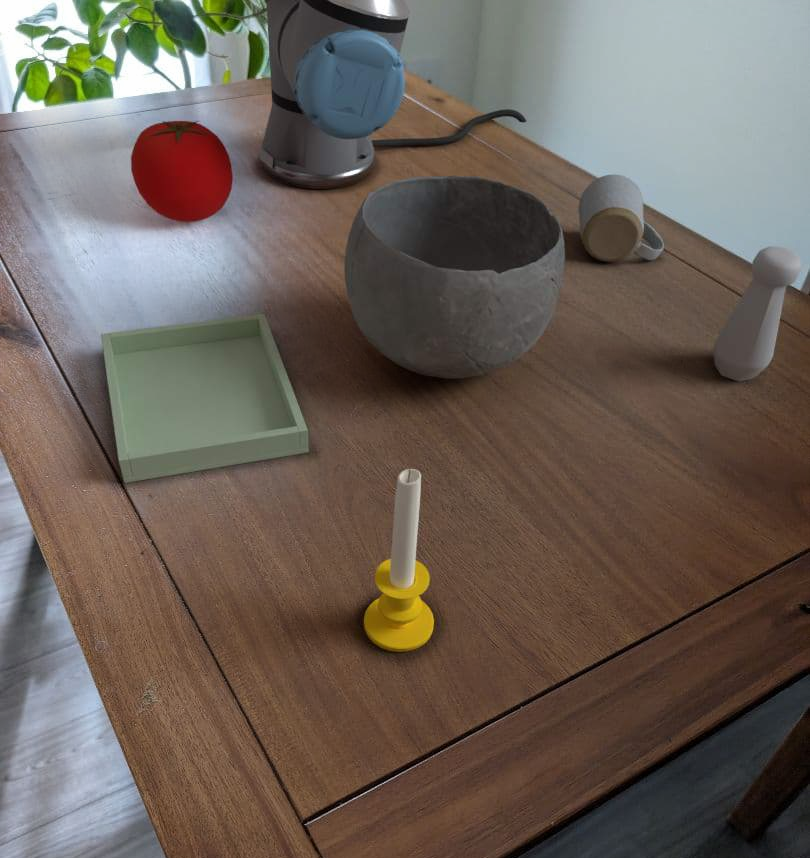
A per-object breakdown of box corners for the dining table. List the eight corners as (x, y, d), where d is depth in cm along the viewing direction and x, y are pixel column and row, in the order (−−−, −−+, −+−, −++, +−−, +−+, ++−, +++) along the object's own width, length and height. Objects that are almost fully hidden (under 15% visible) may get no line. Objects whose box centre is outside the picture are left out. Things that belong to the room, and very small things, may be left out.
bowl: (395, 437, 79) (404, 291, 68) (314, 321, 91) (311, 181, 80) (582, 388, 85) (618, 248, 74) (483, 286, 98) (501, 153, 87)
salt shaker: (765, 361, 90) (815, 246, 81) (762, 392, 87) (814, 275, 77) (709, 348, 91) (751, 233, 82) (704, 378, 88) (748, 261, 78)
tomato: (249, 226, 104) (241, 138, 97) (153, 242, 101) (138, 152, 93) (218, 184, 112) (209, 99, 104) (128, 198, 108) (112, 111, 100)
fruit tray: (266, 335, 89) (264, 313, 87) (308, 452, 77) (307, 430, 75) (106, 356, 85) (100, 333, 83) (124, 483, 73) (118, 460, 71)
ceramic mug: (575, 262, 102) (589, 200, 97) (572, 230, 108) (586, 169, 102) (663, 273, 102) (683, 211, 97) (656, 239, 108) (675, 179, 102)
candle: (362, 651, 62) (366, 497, 51) (364, 596, 66) (369, 439, 54) (434, 653, 62) (454, 500, 51) (432, 598, 66) (451, 443, 55)
